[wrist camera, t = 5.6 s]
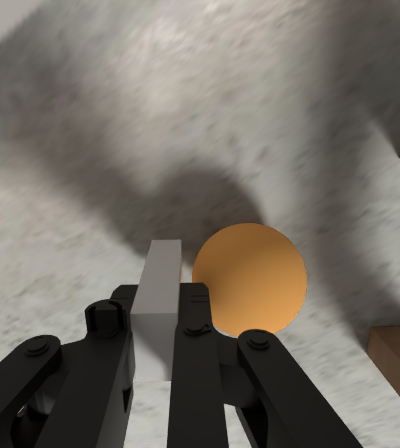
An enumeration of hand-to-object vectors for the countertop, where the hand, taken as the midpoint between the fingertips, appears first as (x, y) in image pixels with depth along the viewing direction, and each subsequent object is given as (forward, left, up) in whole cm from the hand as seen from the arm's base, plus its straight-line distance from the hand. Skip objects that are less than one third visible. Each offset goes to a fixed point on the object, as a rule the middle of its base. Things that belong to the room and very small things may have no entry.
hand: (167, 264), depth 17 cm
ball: (0, +4, +1) cm, 4 cm away
